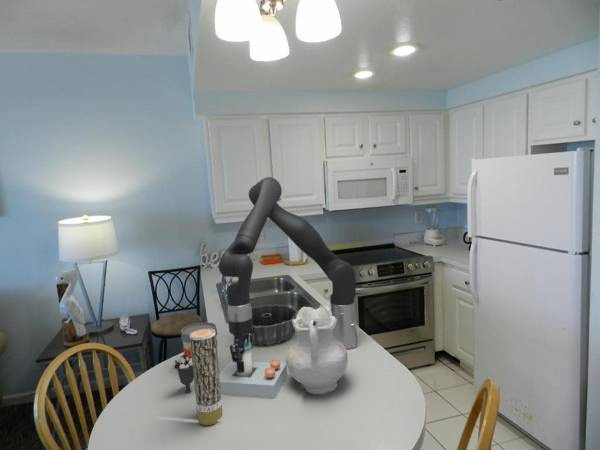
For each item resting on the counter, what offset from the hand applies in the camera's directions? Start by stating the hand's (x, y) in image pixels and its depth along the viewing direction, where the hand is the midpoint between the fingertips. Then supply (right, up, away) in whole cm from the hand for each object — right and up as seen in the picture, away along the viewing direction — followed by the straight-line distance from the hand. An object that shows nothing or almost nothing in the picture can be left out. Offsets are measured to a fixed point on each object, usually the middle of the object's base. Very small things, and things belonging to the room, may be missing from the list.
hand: (244, 367), depth 126 cm
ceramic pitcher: (+24, -5, -2) cm, 25 cm away
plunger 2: (+10, -2, +1) cm, 10 cm away
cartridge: (0, -5, +1) cm, 5 cm away
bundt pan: (+4, -2, +41) cm, 41 cm away
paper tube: (-7, -9, -16) cm, 19 cm away
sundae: (-17, -8, -2) cm, 19 cm away
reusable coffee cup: (-17, -6, +15) cm, 24 cm away
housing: (+2, -6, 0) cm, 7 cm away
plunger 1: (+9, -3, -5) cm, 10 cm away
